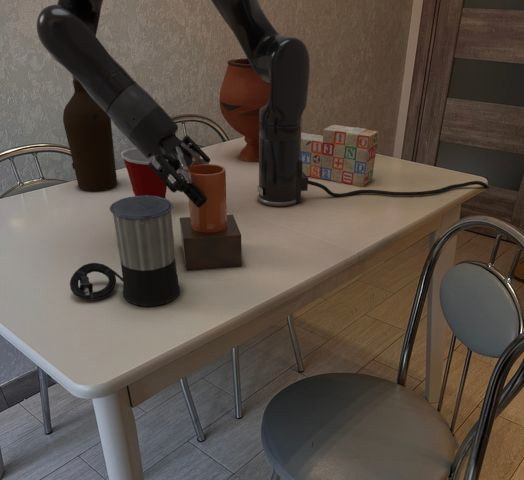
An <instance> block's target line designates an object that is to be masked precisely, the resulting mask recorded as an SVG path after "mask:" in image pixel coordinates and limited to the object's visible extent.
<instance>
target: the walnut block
mask: <svg viewBox="0 0 524 480" xmlns="http://www.w3.org/2000/svg"><path fill="white" fill-rule="evenodd" d="M179 226H180V227H179V228H180V239H181V240H180V241H181V249H182V255H183V261H184V266H185V267H184V268H185V271H194V270H195V271H196V270H208V269H222V268H235V267H236V268H237V267H242V266H243V260H242V258H243V256H242V252H243V251H242V250H243V249H242V248H243V247H242V234H241V230H240V228H239V226H238V223H237V220H236V219H235V215H234V214H233V213H232V214H227V227H226V228H225V229H224V230H222V231H218V232H213V233H203V232H198V231H195V230H193V229H192V228H191V221H190V216H185V217H179Z"/></svg>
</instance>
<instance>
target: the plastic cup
mask: <svg viewBox="0 0 524 480" xmlns="http://www.w3.org/2000/svg"><path fill="white" fill-rule="evenodd" d="M120 156H121V158H122V160H123V162H124V165H125V169H126V170H127V175H128V178H129V182H130V184H131V188H132V192H133V194H134V196H145V195H148V196H158V197H161V198H165V199H167V198H166V195H167V189H168V187H167V186H166V185H165V183H164V182H163V181H162V180H161V179H160V178H159V177H158V176H157V175H156V173H155V172H154V171H153V170H152V169H151V168H150V167H149V163H150V162H151V160H152V159H153V158H154V157H155V156H153V157H151V158H146V157H145V156H144V155H143V154H142V153H141V152H140V151H139V150H138V149H137V148H136V147H132V148H131V147H130V148H127V149H124V150H122V151H121V153H120Z"/></svg>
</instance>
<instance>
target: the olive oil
mask: <svg viewBox="0 0 524 480" xmlns="http://www.w3.org/2000/svg"><path fill="white" fill-rule="evenodd" d="M71 75H72V74H71ZM72 85H73V89H74V93H73V94H72V96H71V97H70V99H69V100H68V101H67V103H66V105H65V107H64V108H63V112H62V114H63V115H62V121H63V122H62V123H63V127H64V131H65V135H66V139H67V143H68V147H69V151H70V156H71V160H72V163H71V167H72V169H73V171H74V172H75V173H74V174H75V177H76V182H77V186H78V188H79V190H82V191H84V192H85V191H86V192H104V191H109V190H112V189H115V188H116V187H117V185H118V177H117V169H116V161H115V150H114V141H113V138H114V137H113V127H112V120H111V118H110V117H109V116H108V115H107V114H106V113H105V112H104V111H103V110H102V108H101V107H100V106H99V105H98V104H97V103H96V102H95V101H94V100H93V99H92V98H91V97H90V95H89V94H88V93H87V91H86V90H85V89H84V87H83V86H82V84H81V83H80V82H79V81H78V80H77V79H76V78H75V77H74V76H73V75H72Z"/></svg>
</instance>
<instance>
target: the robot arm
mask: <svg viewBox="0 0 524 480" xmlns="http://www.w3.org/2000/svg"><path fill="white" fill-rule="evenodd" d="M210 1H211V3H212V4H213V6H214V8H215V9H216V10H217V12H218V13H219V15H220V16H221V18H222V20H223V21H224V22H225V23H226V25H227V26H228V27H229V29H230V30H231V32H232V33H233V35H234V36H235V38H236V40H237V42H238V43H239V45H240V47H241V49H242V51H243V53H244V55H245V57H246V58H248V60H249V62H250V64H251V66H252V68H253V70H254V71H255V73H256V74H257V76H258V77H259V78H260V79H261V80H262V81H263V82H265V83H267V84H269V85H270V92H269V100H268V103H267V104H266V105H263V106H262V107H261V108H260V111H259V161H258V184H257V185H256V186H257V187H256V189H257V190H256V191H257V193H258V197H257V198H258V200H257V201H258V202H259V203H261V204H263V205H264V206H265V205H266V206H270V207H288V206H293V205H295V204H301V201H302V192H308V190H309V189H308V187H309V185H310V186H315V187H317V188H319V189H322V190H323V191H325V193H326V194H328V195H329V196H331V197H334V198H344V197H350V196H355V195H360V194H376V195H383V196H384V195H386V196H399V197H401V196H402V197H404V196H406V197H407V196H408V197H409V196H411V197H412V196H413V197H414V196H427V195H435V194H439V193H443V192H446V191H448V190H453V189H458V188H463V187H467V186H473V185H479V186H482V187H483V188H484V189H486V190H487V189H488V190H489V189H490V187H489V185H488V184H487V183H486V182H483V181H481V180H472V181H467V182H463V183H462V182H461V183H456V184H450V185H447V186H444V187H441V188H438V189H432V190H424V191H423V190H422V191H421V190H420V191H391V190H390V191H389V190H380V189H358V190H351V191H348V192H343V193H337V192H333V191H332V190H330V189H329V188H328V187H327V186H326V185H324V184H322V183H319V182H316V181H312V180H309V176H306V175H305V174H304V172H302V164H303V162H302V160H301V159H300V151H301V133H302V130H303V129H302V128H303V127H302V126H303V115H304V112H305V110H306V107H307V104H308V95H309V85H310V84H309V83H310V75H311V74H310V73H311V59H310V53H309V49H308V47H307V45H306V44H305V43H304V42H303V41H302V40H301V39H300V38H297V37H295V36H289V35H281V34H280V33H279V31H277V30H276V29H275V27H274V26H273V25H272V23H271V22H270V20H269V19H268V17H267V15H266V14H265V12H264V11H263V9H262V7H261V5H260V2H259V0H210ZM103 3H104V0H57V4H50V5H48V6H45V7H44V8H43V9H42V10H41V11H40V12H39V14H38V16H37V20H36V33H37V36H38V39H39V41H40V43H41V45H42V46H43V48H44V49H45V50H46V52H48V54H49V55H50V56H51V58H52V59H53V60H54V61H55V62H57V63H58V64H59V65H61V66H63V68H65V69H66V70H67V71H68V72H69V74H70V75H73V76H74V77H75V78H76V79H77V80H78V81H79V82H80V83H81V84H82V86H83V87H84V89H85V90H86V91H87V93H88V94H89V95H90V97H91V98H92V99H93V100H94V101H95V102H96V103H97V104H98V105H99V106H100V107H101V108H102V110H103V111H104V112H105V113H106V114H107V115H108V116H109V117H110V118H111V122H112V123H113V124H114V125H115V126H116V128H118V130H119V131H120V132H121V133H122V134H123V135H124V136H125V137H126V139H128V140H129V142H130V143H132V145H133V146H134V148H137V149H138V150H139V151H140V152H141V153H142V154H143V155H144V156H145V157H146V158H151V157H153V156H155V157H154V158H153V159H152V160H151V162H150V163H149V167H150V168H151V169H152V170H153V171H154V172H155V173H156V175H157V176H158V177H159V178H160V179H161V180H162V181H163V182H164V183H165V185H166V186H167V189H169V190H170V191H171V192H172V193H174V194H175V193H177V191H178V192H179V193H183V194H184V195H185V196H186V197H187V198H188V200H189V199H190V200H191V201H192V202H193V203H194V204H195V205H196V206H197V207H201V206H202V205H203V204H204V203H205V202H206V201H207V197H206V196H205V195H204V194H203V193H202V191H201V190H200V189H199V188H198V187H197V186H196V185H195V184H194V183H193V182H192V183H191V180H190V177H189V175H188V168H189V167H191V166H194V165H200V164H210V163H211V158H210V157H209V156H208V155H207V153H205V151H203V149H202V148H200V146H199V145H197V143H196V142H195V141H194V140H193V139H192V138H191V137H190V136H189V135H187V134H186V135H185V136H184V137H183V138H182V139H180V138H179V137H177V135H176V133H177V132H178V128H179V126H178V124H177V123H176V122H175V121H174V120H173V118H172V117H171V116H170V115H169V114H168V113H167V112H166V111H165V110H164V108H163V107H162V106H161V105H159V103H158V102H157V101H156V99H154V98H153V96H152V95H151V94H150V93H149V92H148V91H146V90H145V89H144V88H143V87H142V86H141V85H140V84H139V83H138V82H137V81H136V80H135V79H134V78H133V77H132V76H131V75H130V74H129V73H128V72H127V70H126V69H125V68H124V66H122V65H121V64H120V63H119V62H118V61H117V60H116V59H115V58H114V57H113V56H112V55H111V54H110V53H109V52H108V50H107V49H106V48H105V47H104V45H103V44H102V42H101V41H100V40H99V39H98V38H97V33H98V27H99V22H100V18H101V11H102V7H103ZM190 183H191V184H190Z"/></svg>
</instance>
